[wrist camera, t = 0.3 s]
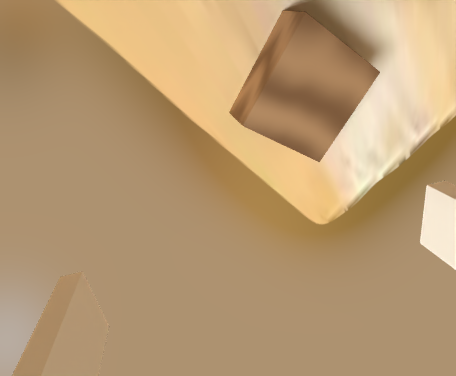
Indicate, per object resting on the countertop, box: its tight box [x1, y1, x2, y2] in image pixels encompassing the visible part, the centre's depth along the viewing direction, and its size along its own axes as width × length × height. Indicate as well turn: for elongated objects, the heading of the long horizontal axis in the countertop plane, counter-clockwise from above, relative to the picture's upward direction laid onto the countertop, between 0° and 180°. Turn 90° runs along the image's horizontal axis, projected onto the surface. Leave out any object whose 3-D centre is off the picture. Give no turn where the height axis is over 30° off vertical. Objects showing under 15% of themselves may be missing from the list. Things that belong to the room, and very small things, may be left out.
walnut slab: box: [229, 10, 380, 162], centre depth 35 cm, size 12×12×5 cm
